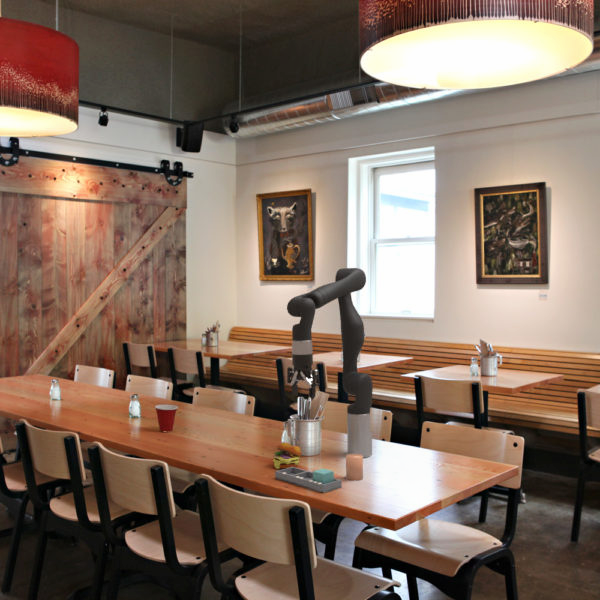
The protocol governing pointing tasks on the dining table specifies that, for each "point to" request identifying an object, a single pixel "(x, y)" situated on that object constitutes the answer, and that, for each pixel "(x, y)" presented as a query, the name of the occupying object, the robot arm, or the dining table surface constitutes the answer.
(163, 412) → the plastic cup
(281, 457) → the cheeseburger
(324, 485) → the slot tray
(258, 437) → the dining table surface
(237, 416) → the dining table surface
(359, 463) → the terracotta jar
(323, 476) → the teal block
